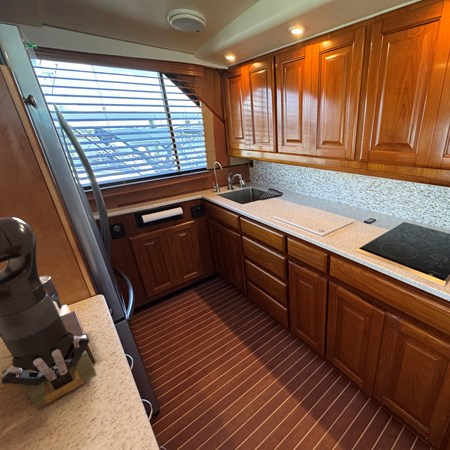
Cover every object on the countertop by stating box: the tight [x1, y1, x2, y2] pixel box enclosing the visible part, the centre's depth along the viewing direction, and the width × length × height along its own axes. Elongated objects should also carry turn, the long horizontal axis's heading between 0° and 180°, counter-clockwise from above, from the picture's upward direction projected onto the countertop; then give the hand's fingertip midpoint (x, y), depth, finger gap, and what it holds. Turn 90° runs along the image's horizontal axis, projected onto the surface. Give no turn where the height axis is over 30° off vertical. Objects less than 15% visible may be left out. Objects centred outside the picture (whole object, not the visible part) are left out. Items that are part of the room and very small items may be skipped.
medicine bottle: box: [50, 297, 71, 316], centre depth 68 cm, size 7×7×12 cm
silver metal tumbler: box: [39, 275, 61, 302], centre depth 72 cm, size 7×7×15 cm
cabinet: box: [22, 310, 97, 371], centre depth 60 cm, size 14×11×9 cm
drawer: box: [21, 344, 98, 410], centre depth 55 cm, size 18×10×7 cm, turn 49°
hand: (65, 386), depth 51 cm, fingers closed
